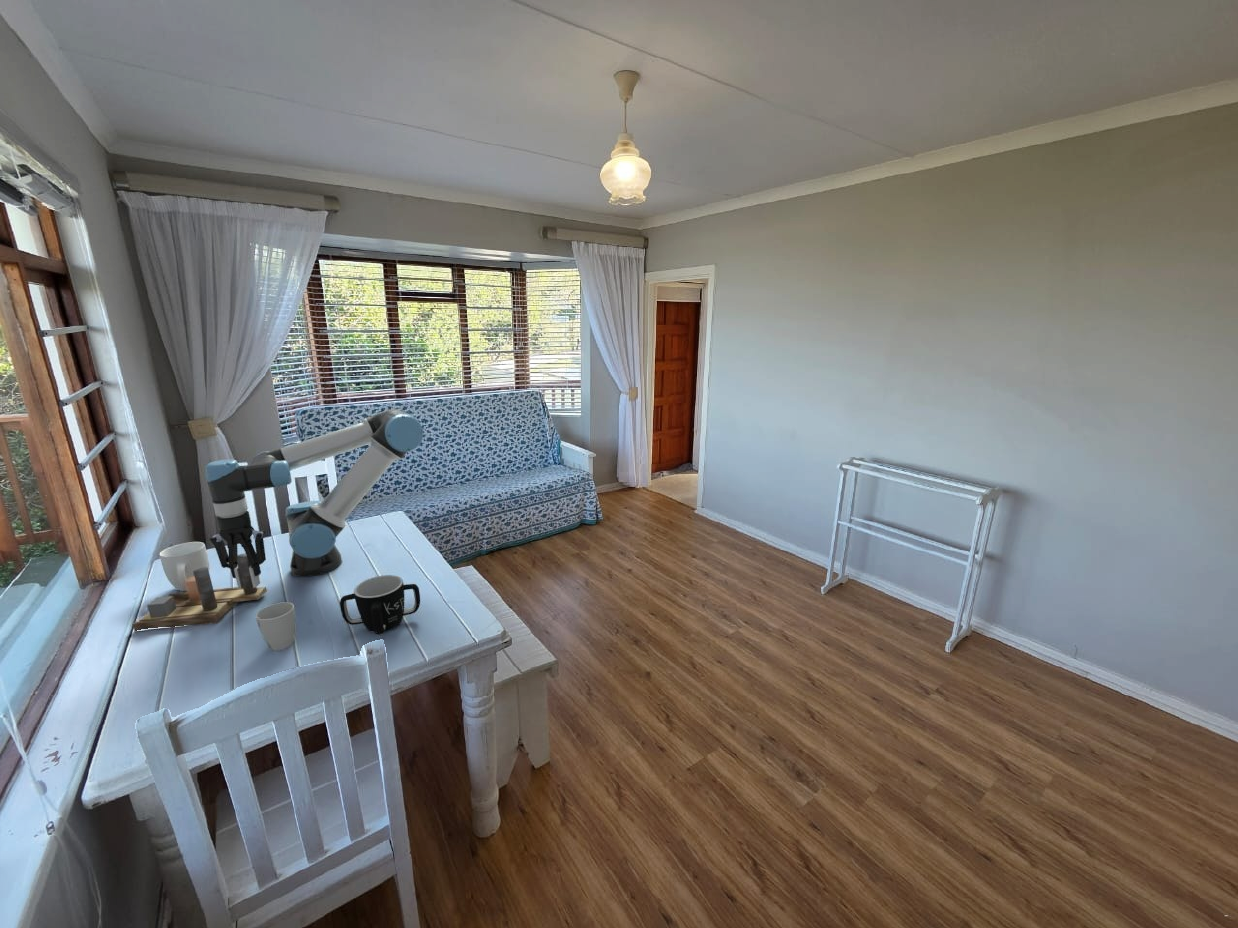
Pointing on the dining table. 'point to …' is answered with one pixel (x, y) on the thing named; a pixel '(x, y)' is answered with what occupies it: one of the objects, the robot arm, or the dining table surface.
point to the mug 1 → (183, 562)
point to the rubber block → (161, 606)
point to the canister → (192, 589)
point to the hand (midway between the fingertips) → (249, 585)
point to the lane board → (187, 620)
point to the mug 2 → (380, 603)
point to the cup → (277, 625)
